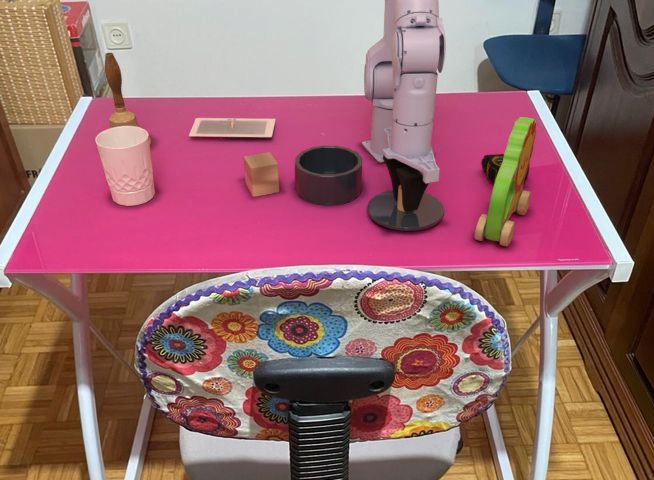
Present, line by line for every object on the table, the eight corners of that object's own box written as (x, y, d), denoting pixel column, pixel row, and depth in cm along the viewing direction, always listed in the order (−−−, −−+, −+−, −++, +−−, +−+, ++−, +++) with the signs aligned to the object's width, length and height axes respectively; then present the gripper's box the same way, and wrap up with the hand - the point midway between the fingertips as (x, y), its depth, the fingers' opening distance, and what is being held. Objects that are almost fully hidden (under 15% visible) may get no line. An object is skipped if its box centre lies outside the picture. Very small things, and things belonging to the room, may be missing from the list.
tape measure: (519, 170, 121) (523, 149, 119) (532, 189, 116) (536, 168, 114) (479, 171, 121) (482, 151, 118) (490, 191, 116) (493, 170, 113)
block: (271, 180, 119) (269, 151, 116) (279, 192, 116) (278, 163, 113) (245, 184, 118) (243, 156, 115) (253, 197, 115) (250, 168, 112)
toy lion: (507, 253, 102) (527, 153, 92) (470, 244, 104) (485, 145, 94) (533, 202, 113) (553, 107, 103) (499, 194, 115) (515, 101, 105)
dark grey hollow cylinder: (347, 169, 122) (347, 141, 119) (371, 198, 114) (372, 169, 111) (287, 179, 119) (286, 151, 116) (308, 210, 112) (308, 181, 108)
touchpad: (272, 142, 130) (271, 131, 128) (189, 141, 130) (187, 130, 129) (276, 124, 136) (275, 113, 134) (196, 123, 136) (195, 112, 135)
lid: (422, 190, 116) (425, 164, 113) (457, 225, 107) (460, 198, 105) (355, 203, 113) (356, 176, 110) (385, 240, 105) (387, 213, 102)
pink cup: (167, 188, 117) (157, 129, 111) (143, 211, 112) (131, 151, 105) (125, 180, 119) (113, 122, 113) (99, 203, 114) (84, 144, 107)
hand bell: (97, 153, 127) (76, 61, 116) (114, 133, 133) (96, 44, 123) (142, 156, 126) (125, 64, 115) (157, 136, 132) (142, 46, 122)
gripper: (366, 102, 104) (363, 187, 113) (409, 144, 94) (402, 233, 103) (410, 95, 106) (404, 179, 115) (457, 135, 96) (446, 224, 105)
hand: (406, 204), depth 109 cm, fingers closed on lid, 2 cm apart
